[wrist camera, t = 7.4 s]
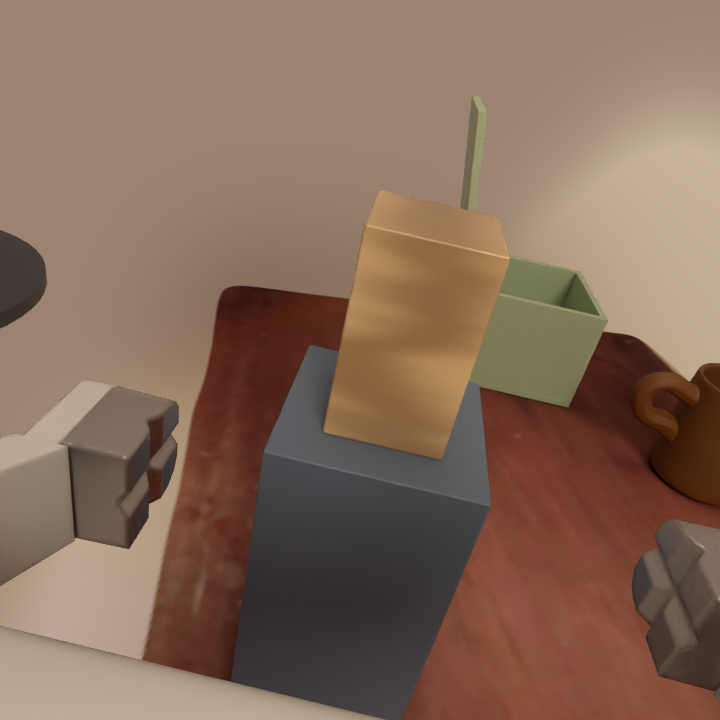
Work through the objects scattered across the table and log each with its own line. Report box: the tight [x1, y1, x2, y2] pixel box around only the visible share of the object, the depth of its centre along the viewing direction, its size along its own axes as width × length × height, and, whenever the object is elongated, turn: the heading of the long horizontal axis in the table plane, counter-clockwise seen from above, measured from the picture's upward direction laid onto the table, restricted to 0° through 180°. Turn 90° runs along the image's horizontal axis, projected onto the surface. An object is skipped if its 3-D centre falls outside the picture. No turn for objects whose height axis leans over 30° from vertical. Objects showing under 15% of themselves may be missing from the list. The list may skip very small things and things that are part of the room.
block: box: [323, 190, 510, 460], centre depth 22 cm, size 4×4×8 cm
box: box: [469, 256, 608, 407], centre depth 60 cm, size 13×12×10 cm
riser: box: [231, 345, 491, 720], centre depth 27 cm, size 8×8×15 cm
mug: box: [630, 363, 720, 506], centre depth 48 cm, size 12×8×9 cm, turn 84°
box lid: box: [461, 96, 487, 212], centre depth 54 cm, size 14×12×1 cm
